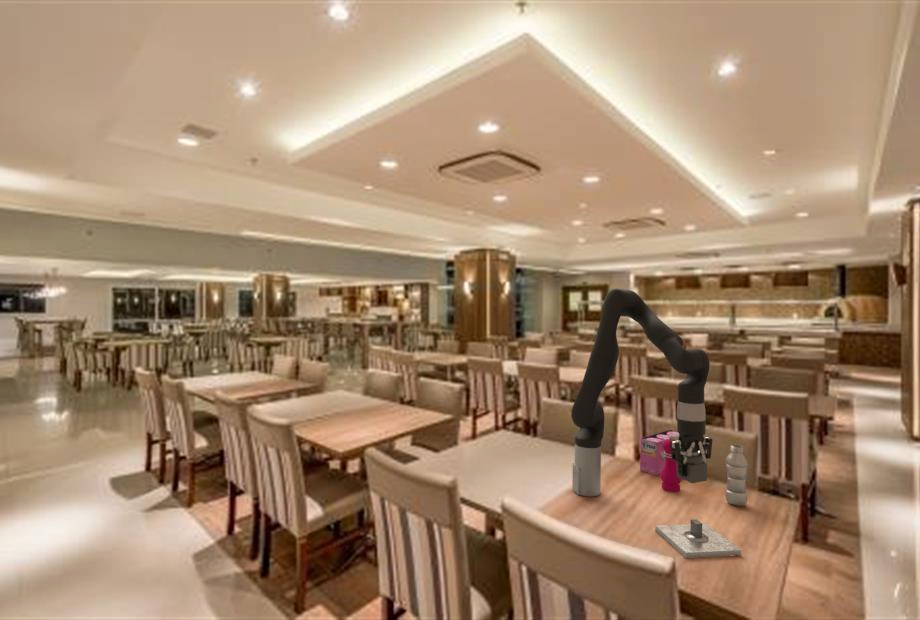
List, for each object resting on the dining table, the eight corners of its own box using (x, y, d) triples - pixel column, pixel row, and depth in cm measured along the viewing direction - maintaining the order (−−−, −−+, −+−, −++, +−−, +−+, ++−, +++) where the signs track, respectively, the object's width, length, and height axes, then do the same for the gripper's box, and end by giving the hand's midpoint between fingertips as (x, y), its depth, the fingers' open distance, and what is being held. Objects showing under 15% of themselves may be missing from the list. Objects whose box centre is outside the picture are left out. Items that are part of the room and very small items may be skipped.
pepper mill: (683, 493, 173) (684, 438, 173) (662, 491, 175) (663, 437, 174) (678, 486, 180) (679, 433, 180) (658, 484, 182) (659, 432, 181)
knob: (691, 483, 137) (691, 457, 137) (675, 476, 142) (675, 451, 142) (708, 480, 139) (707, 455, 139) (691, 474, 144) (691, 449, 144)
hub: (685, 558, 129) (686, 536, 129) (655, 530, 145) (655, 510, 145) (741, 555, 130) (741, 533, 130) (705, 528, 146) (705, 508, 146)
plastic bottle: (739, 510, 160) (740, 450, 159) (720, 502, 166) (721, 444, 165) (751, 506, 163) (752, 447, 162) (732, 499, 169) (733, 442, 168)
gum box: (670, 459, 211) (671, 429, 211) (688, 464, 205) (688, 433, 205) (639, 470, 197) (639, 437, 197) (657, 476, 191) (657, 442, 190)
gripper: (681, 422, 135) (682, 482, 134) (720, 418, 139) (721, 475, 139) (662, 416, 142) (662, 473, 141) (699, 413, 146) (700, 468, 146)
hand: (691, 474), depth 140 cm, fingers closed on knob, 6 cm apart
